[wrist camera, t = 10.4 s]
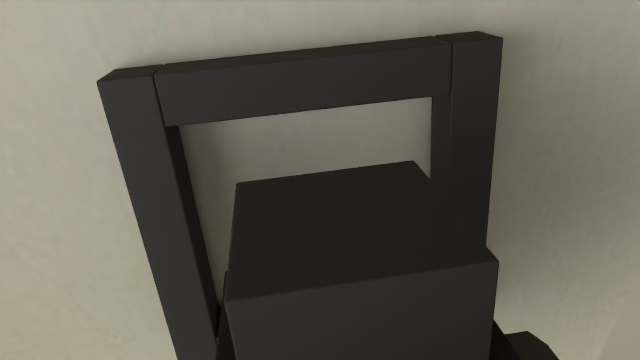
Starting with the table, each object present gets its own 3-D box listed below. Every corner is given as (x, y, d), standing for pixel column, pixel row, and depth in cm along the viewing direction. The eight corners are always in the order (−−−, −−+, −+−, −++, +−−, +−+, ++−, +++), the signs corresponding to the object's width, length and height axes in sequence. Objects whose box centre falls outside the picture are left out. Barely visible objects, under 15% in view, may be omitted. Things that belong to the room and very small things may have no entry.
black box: (414, 159, 13) (500, 261, 8) (412, 366, 16) (473, 519, 12) (235, 182, 12) (223, 302, 8) (272, 389, 16) (279, 557, 11)
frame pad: (478, 30, 17) (504, 37, 15) (461, 300, 23) (479, 328, 21) (113, 69, 16) (94, 80, 14) (188, 342, 22) (181, 375, 20)
